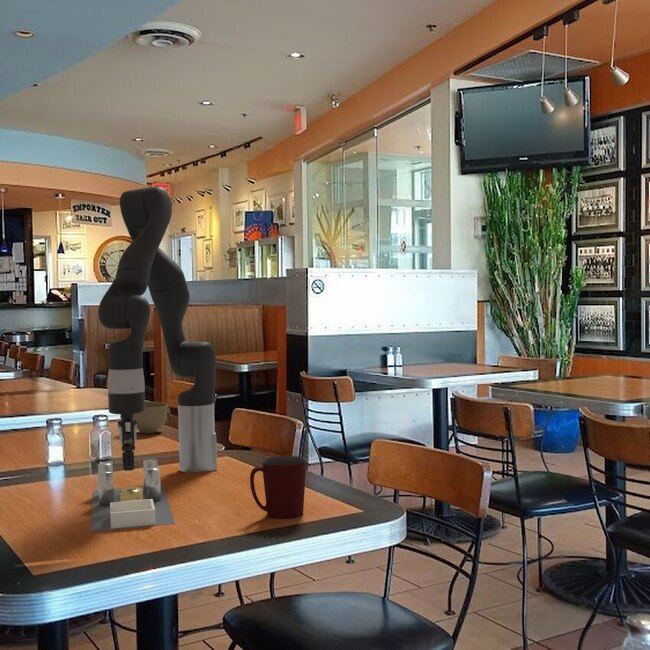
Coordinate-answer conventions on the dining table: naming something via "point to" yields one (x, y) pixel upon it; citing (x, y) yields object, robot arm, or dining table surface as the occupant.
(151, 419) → the bowl
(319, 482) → the dining table surface
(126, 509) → the white square tray
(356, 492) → the dining table surface
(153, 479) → the spacers
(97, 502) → the mat
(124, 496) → the nut
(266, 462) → the mug
